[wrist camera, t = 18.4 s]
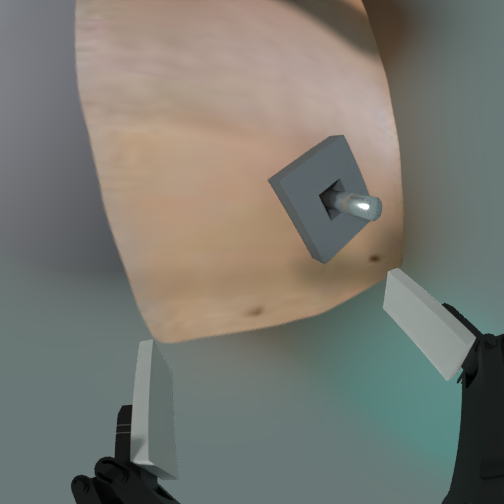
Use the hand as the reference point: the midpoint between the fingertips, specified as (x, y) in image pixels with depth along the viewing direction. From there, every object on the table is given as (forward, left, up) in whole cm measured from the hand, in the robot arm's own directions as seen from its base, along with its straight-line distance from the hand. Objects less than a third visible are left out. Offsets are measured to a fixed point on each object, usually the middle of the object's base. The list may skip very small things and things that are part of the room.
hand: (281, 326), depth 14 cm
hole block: (+10, +20, -26) cm, 34 cm away
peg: (+10, +20, -26) cm, 34 cm away
